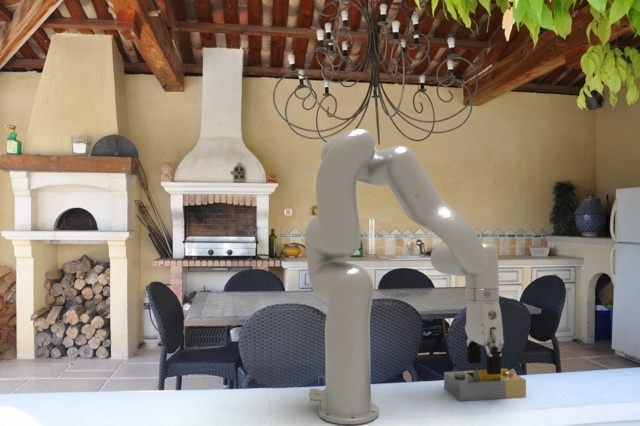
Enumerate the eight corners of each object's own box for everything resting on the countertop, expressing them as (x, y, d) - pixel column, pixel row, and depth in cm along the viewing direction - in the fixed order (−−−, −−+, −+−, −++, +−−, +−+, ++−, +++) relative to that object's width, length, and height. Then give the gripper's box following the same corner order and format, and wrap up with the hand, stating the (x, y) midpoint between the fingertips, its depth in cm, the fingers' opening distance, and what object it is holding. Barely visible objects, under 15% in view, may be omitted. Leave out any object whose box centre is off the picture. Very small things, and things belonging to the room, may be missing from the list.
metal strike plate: (460, 401, 113) (459, 380, 113) (444, 388, 122) (443, 369, 122) (526, 397, 116) (525, 376, 116) (505, 385, 125) (505, 366, 125)
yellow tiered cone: (476, 389, 122) (513, 372, 119) (475, 402, 117) (514, 384, 114) (463, 371, 122) (499, 353, 119) (462, 383, 117) (500, 364, 114)
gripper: (516, 299, 112) (518, 377, 111) (480, 290, 129) (481, 358, 128) (484, 300, 110) (486, 379, 110) (452, 291, 128) (453, 359, 127)
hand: (483, 368), depth 119 cm, fingers open, 9 cm apart
